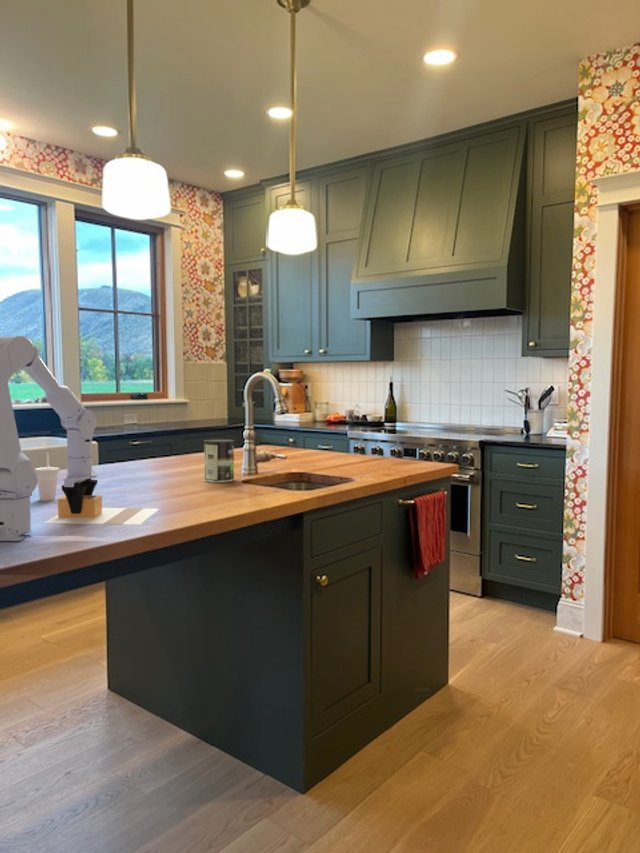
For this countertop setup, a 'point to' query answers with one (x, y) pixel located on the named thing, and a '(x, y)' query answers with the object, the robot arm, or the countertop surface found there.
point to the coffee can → (219, 460)
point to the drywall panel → (110, 517)
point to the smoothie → (47, 481)
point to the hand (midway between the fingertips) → (80, 511)
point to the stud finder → (89, 507)
